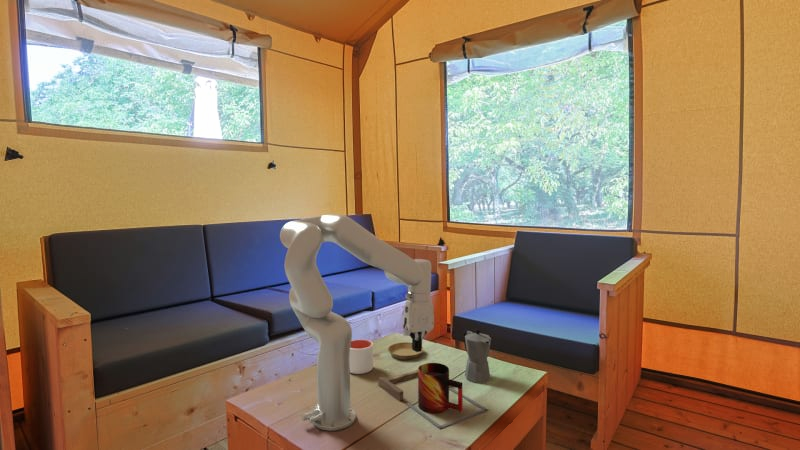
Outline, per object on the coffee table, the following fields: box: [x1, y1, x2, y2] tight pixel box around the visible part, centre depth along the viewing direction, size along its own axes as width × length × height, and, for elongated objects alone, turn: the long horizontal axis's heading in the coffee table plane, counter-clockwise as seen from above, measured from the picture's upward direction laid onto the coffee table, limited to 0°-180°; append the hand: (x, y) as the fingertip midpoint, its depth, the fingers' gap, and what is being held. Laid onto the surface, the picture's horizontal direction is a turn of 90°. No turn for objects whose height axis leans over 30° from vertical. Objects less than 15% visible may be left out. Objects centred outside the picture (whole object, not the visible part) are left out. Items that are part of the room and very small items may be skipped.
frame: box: [405, 387, 489, 430], centre depth 133 cm, size 19×17×1 cm
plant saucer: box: [387, 342, 424, 360], centre depth 177 cm, size 15×15×3 cm
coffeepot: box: [462, 328, 492, 384], centre depth 154 cm, size 15×9×18 cm, turn 26°
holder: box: [377, 369, 418, 402], centre depth 148 cm, size 20×14×3 cm
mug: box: [417, 362, 464, 415], centre depth 134 cm, size 10×14×12 cm
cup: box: [350, 339, 374, 375], centre depth 161 cm, size 10×10×10 cm
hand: (416, 350), depth 143 cm, fingers closed
